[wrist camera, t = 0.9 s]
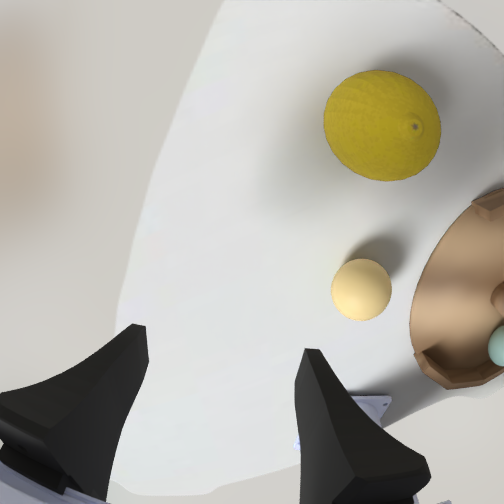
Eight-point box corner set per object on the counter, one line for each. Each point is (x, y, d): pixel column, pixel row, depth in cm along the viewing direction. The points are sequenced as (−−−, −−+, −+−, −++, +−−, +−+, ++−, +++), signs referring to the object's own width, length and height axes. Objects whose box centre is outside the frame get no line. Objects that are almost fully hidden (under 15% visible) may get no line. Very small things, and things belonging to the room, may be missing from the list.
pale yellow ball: (371, 302, 22) (387, 334, 18) (320, 297, 22) (330, 331, 18) (387, 253, 20) (409, 280, 17) (333, 245, 20) (347, 272, 17)
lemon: (402, 94, 16) (477, 85, 9) (389, 175, 18) (455, 210, 11) (319, 71, 16) (355, 38, 9) (306, 158, 18) (334, 183, 11)
